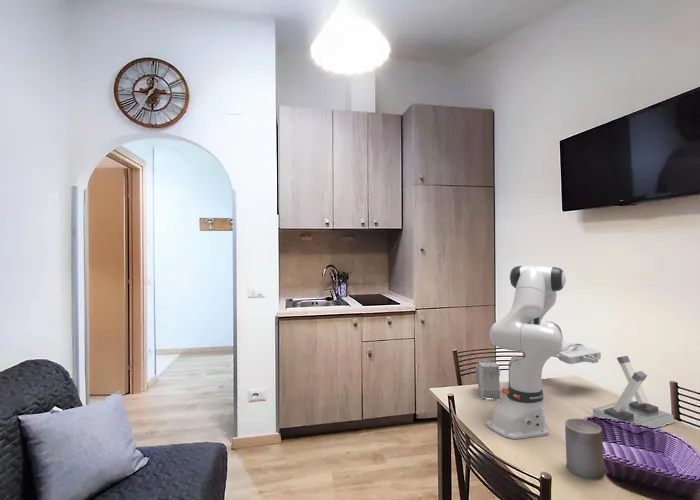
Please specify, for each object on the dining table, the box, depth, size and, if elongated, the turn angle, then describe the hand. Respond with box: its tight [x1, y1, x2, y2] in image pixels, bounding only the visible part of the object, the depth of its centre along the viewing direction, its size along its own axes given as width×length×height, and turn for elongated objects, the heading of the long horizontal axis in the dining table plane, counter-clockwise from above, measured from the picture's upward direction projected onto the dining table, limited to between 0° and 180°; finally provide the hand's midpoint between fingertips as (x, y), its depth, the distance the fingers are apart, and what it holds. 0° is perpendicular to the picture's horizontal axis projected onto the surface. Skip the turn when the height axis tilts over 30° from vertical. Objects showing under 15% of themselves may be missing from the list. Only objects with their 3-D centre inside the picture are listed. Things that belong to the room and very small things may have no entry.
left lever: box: [613, 370, 648, 412], centre depth 136 cm, size 4×2×18 cm, turn 111°
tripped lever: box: [616, 355, 649, 404], centre depth 149 cm, size 4×2×18 cm, turn 111°
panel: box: [592, 400, 675, 427], centre depth 143 cm, size 22×16×5 cm
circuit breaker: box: [475, 360, 501, 400], centre depth 172 cm, size 8×14×15 cm, turn 174°
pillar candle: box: [564, 418, 605, 480], centre depth 111 cm, size 10×10×15 cm
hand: (596, 361), depth 163 cm, fingers closed
